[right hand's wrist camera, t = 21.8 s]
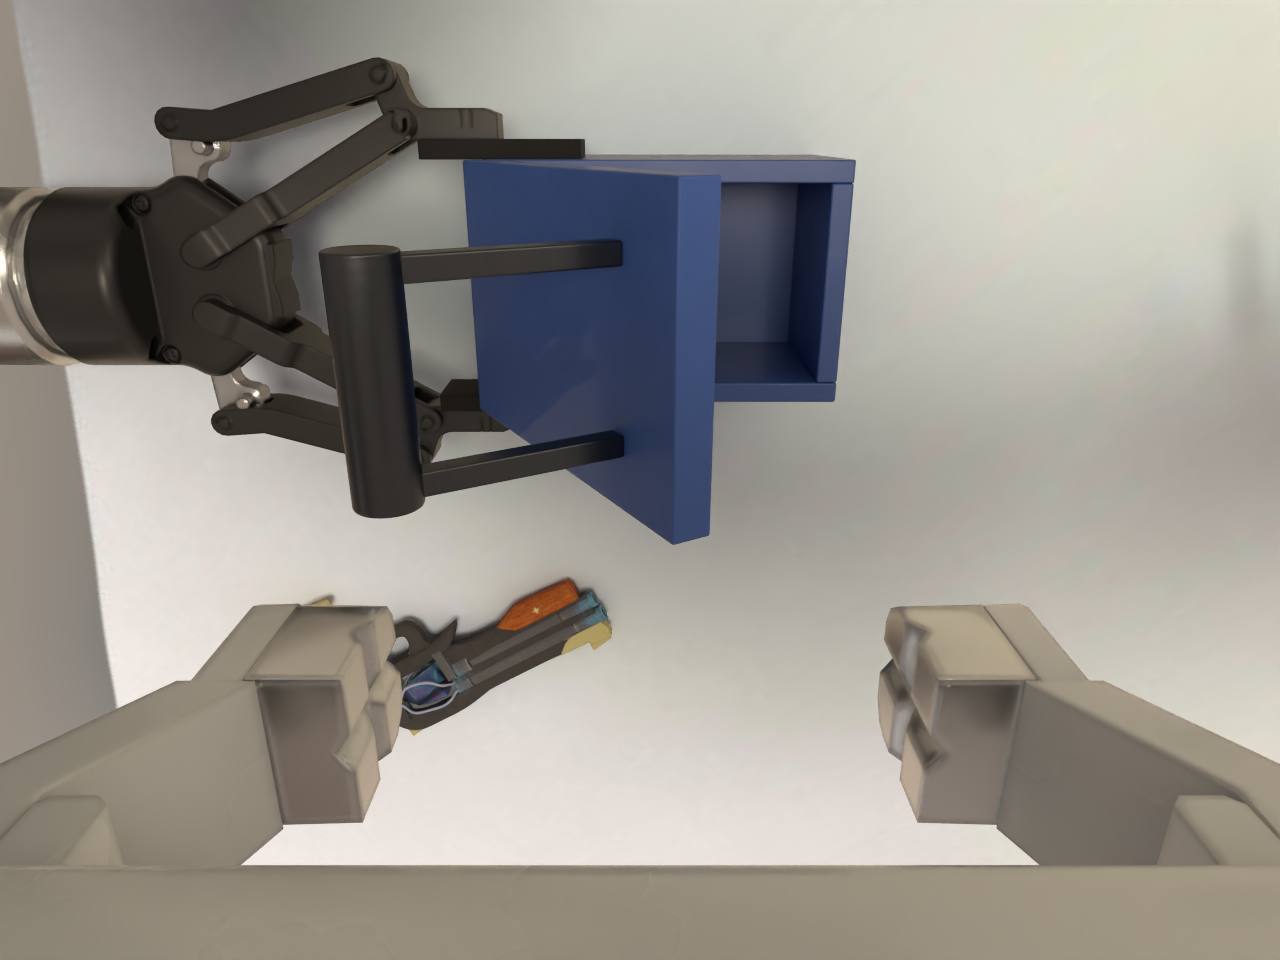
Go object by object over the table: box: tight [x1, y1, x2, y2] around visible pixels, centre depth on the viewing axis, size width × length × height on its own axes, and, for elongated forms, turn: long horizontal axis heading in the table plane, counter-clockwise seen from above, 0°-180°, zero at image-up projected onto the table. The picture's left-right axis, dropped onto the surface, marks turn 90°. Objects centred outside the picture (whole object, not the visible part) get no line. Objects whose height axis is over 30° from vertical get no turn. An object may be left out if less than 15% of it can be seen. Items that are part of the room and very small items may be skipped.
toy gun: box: [312, 580, 612, 736], centre depth 51 cm, size 3×19×10 cm
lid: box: [319, 160, 721, 545], centre depth 27 cm, size 15×10×9 cm
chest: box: [483, 155, 856, 402], centre depth 40 cm, size 15×10×9 cm
